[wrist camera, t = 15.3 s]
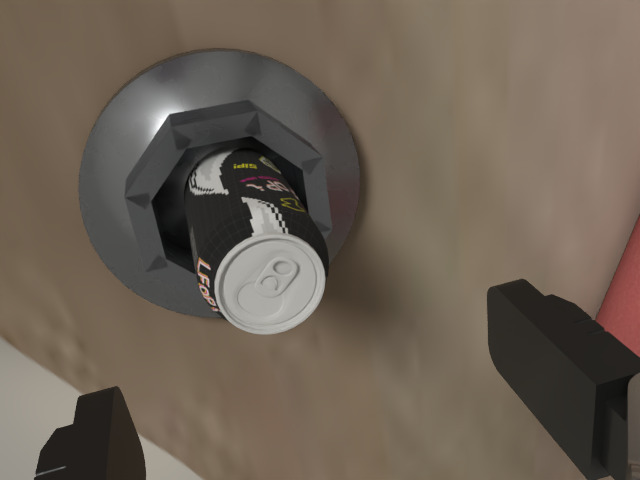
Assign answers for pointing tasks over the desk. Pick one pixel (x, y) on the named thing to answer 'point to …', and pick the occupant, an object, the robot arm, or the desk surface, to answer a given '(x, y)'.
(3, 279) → the desk surface
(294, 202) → the beverage can
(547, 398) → the robot arm
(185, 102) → the rosette socket
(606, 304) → the blood vessel
